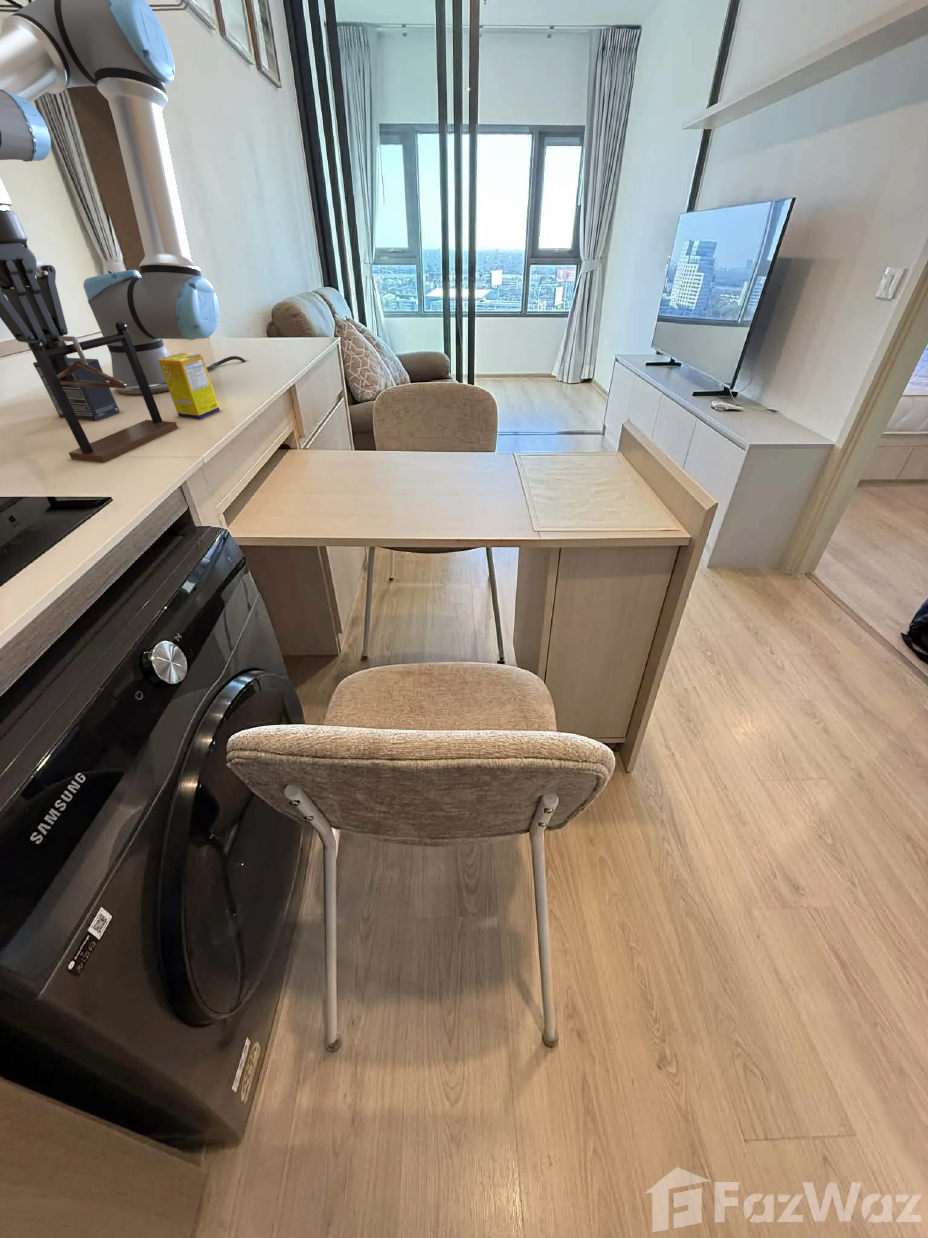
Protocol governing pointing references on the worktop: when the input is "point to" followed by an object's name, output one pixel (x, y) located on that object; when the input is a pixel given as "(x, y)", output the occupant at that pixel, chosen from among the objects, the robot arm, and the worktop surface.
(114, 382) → the hanger
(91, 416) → the small box
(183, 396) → the supplement box
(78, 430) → the clothes rail
